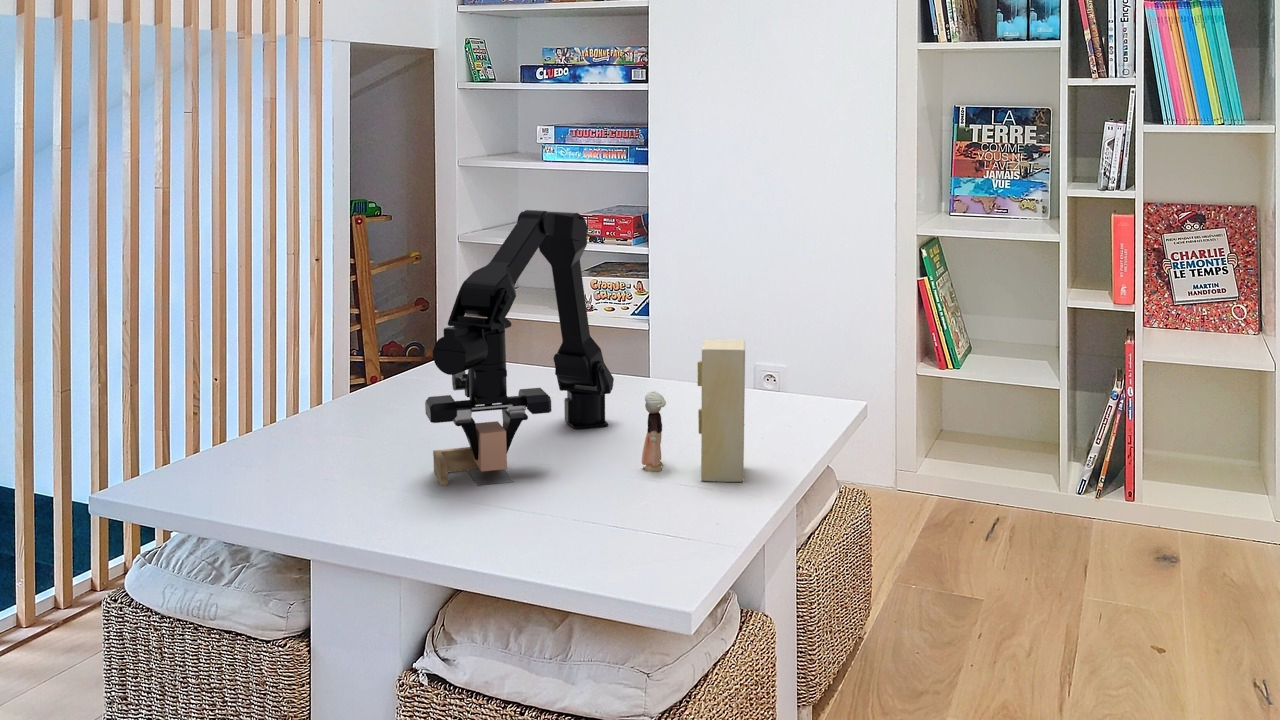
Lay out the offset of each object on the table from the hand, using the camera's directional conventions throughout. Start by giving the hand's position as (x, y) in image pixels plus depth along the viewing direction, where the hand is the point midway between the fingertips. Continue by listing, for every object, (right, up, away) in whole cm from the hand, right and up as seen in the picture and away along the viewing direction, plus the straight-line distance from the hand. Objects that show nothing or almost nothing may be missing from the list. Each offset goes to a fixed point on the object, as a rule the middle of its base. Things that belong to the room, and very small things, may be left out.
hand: (490, 458), depth 183 cm
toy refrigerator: (+36, -3, +2) cm, 36 cm away
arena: (-2, -3, 0) cm, 4 cm away
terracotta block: (0, -1, 0) cm, 1 cm away
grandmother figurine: (+26, -2, +5) cm, 26 cm away
